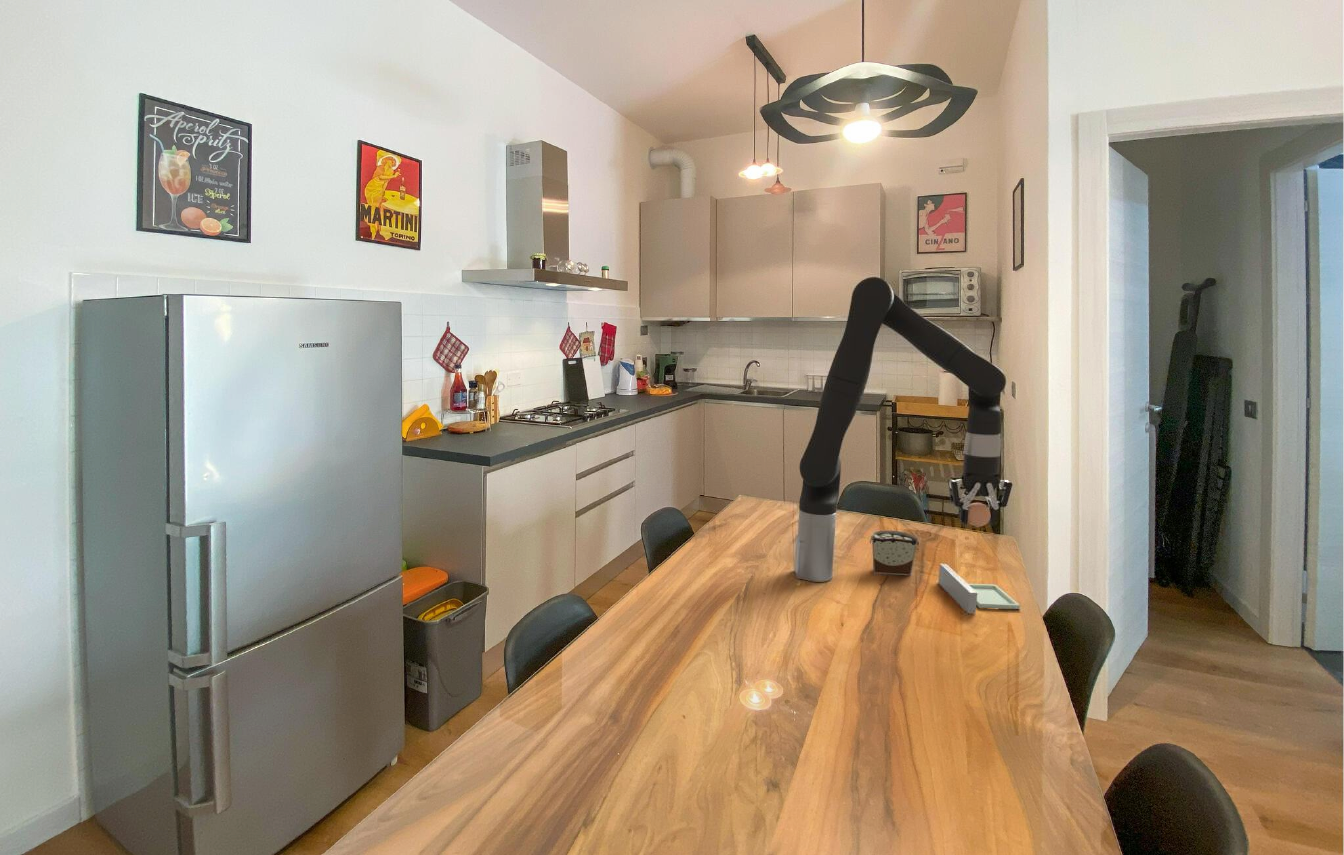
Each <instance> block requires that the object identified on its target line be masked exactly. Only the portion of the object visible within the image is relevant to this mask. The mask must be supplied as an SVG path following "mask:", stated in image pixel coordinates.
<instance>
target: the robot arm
mask: <svg viewBox="0 0 1344 855" xmlns="http://www.w3.org/2000/svg"><path fill="white" fill-rule="evenodd" d="M852 290H853V291H852V293H851V300H850V305H849V310H848V314H847V320H846V325H845V329H844V332H843V335H842V338H841V341H840V343H839V345H838V347H837V350H836V352H835V354H834V356H833V359H832V363H831V366H830V368H829V370H828V373H827V376H826V380H825V382H824V386H823V391H822V394H821V399H820V403H819V406H818V410H817V416H816V420H815V424H814V428H813V431H812V433H811V436H810V439H809V440H808V444H807V446H806V448H805V451H804V452H803V455H802V457H801V459H800V462H799V467H798V468H799V474H800V476H801V479H802V488H801V492H800V493H801V494H800V497H799V504H798V507H799V508H798V521H797V523H798V524H797V534H796V535H795V546H794V548H795V549H794V560H793V561H794V564H793V571H794V573H795V576H796V578H797V580H798V579H799V580H804V581H809V582H814V583H815V582H816V583H817V582H819V583H820V582H821V583H822V582H828V581H831V580H832V579H833V572H834V560H835V559H834V556H835V544H836V543H835V541H836V540H835V539H836V528H837V526H836V524H837V522H836V521H837V512H838V511H837V510H838V503H839V497H840V487H841V486H840V485H841V471H842V461H841V458H840V453H841V449H842V444H843V440H844V438H845V435H846V433H847V431H848V430H849V427H850V426H851V423H852V421H853V419H854V417H855V416H856V413H857V411H858V409H859V406H860V404H861V401H862V398H863V396H864V393H865V391H866V390H865V389H866V386H867V383H868V379H869V376H870V372H871V368H872V367H871V366H872V363H873V362H872V361H873V354H874V349H875V343H876V340H877V336H878V334H879V331H880V330H881V327H882V325H883V326H884V325H885V327H887V328H889V329H891V330H893V331H894V332H895V333H897V334H898V335H899V336H901V337H902V338H904V339H905V340H906V341H907V342H909V343H910V344H911V345H912V346H913V347H914V348H915V349H917V350H918V351H919V352H920V353H921V354H922V355H924V356H925V357H926V358H927V359H929V360H930V361H932V362H933V363H934V364H936V365H938V367H940V368H942V369H943V370H944V371H946V372H947V373H950V374H952V375H954V376H955V377H956V378H957V380H959V381H960V382H962V383H963V384H964V385H965V386H967V387H968V391H967V392H968V413H967V418H966V420H967V422H966V434H965V440H964V446H963V462H962V463H963V464H962V465H963V466H962V475H961V477H960V478H959V479H955V480H954V479H953V478H952V479H951V478H950V479H948V481H947V483H948V493H949V498H950V504H952V505H953V506H955V507H957V508H958V521H959V522H960V523H961V524H962V525H963V526H967V525H968V522H967V521H968V509H967V508H968V506H969V505H970V504H971V502H972V501H973V500H974V498H975V497H985V499H986V502H987V503H988V506H989V507H988V509H989V510H990V513H991V517H990V520H989V522H988V523H987V524H988V525H989V526H994V525H995V524H996V523H997V517H998V510H999V509H1000V508H1005V507H1007V506H1008V502H1009V498H1010V494H1011V491H1012V487H1013V483H1012V482H1011V481H1010V480H1006V479H1000V477H999V473H1000V464H1001V462H1000V461H1001V452H1002V451H1001V450H1002V441H1001V439H1002V438H1001V434H1002V433H1001V432H1002V431H1001V430H1002V418H1003V417H1002V411H1001V407H1000V405H1001V393H1002V392H1003V390H1004V389H1005V387H1006V384H1007V378H1006V375H1005V373H1004V371H1003V370H1002V369H1000V368H999V367H998V366H996V365H995V364H993V363H992V362H990V361H989V360H987V359H986V358H984V357H982V356H981V355H979V354H977V353H975V351H973V350H972V349H971V348H970V347H968V346H967V345H966V344H965V343H964V342H962V341H961V340H959V339H958V338H957V337H955V336H954V335H952V334H951V333H950V332H949V331H947V330H945V329H944V328H942V327H940V326H939V325H937V324H936V323H934V322H932V321H930V320H929V319H927V318H926V317H924V316H922V315H921V314H919V313H918V312H917V311H915V310H914V309H912V308H911V307H910V306H909V305H908V304H907V303H905V301H903V300H902V299H901V298H900V297H899V296H898V295H897V294H896V293H895V291H893V287H892V286H891V285H890V284H889V282H888V281H886V280H885V279H884V278H881V277H877V276H870V277H867V278H864V279H862V280H860V282H858V283H857V284H856V285H855V286H854V288H853V289H852ZM961 485H962V487H963V488H964V490H963V491H962V494H961V498H960V495H959V490H960V489H961ZM998 487H999V493H998V495H997V496H996V493H995V490H996V489H997V488H998ZM987 524H986V525H987Z"/></svg>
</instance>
